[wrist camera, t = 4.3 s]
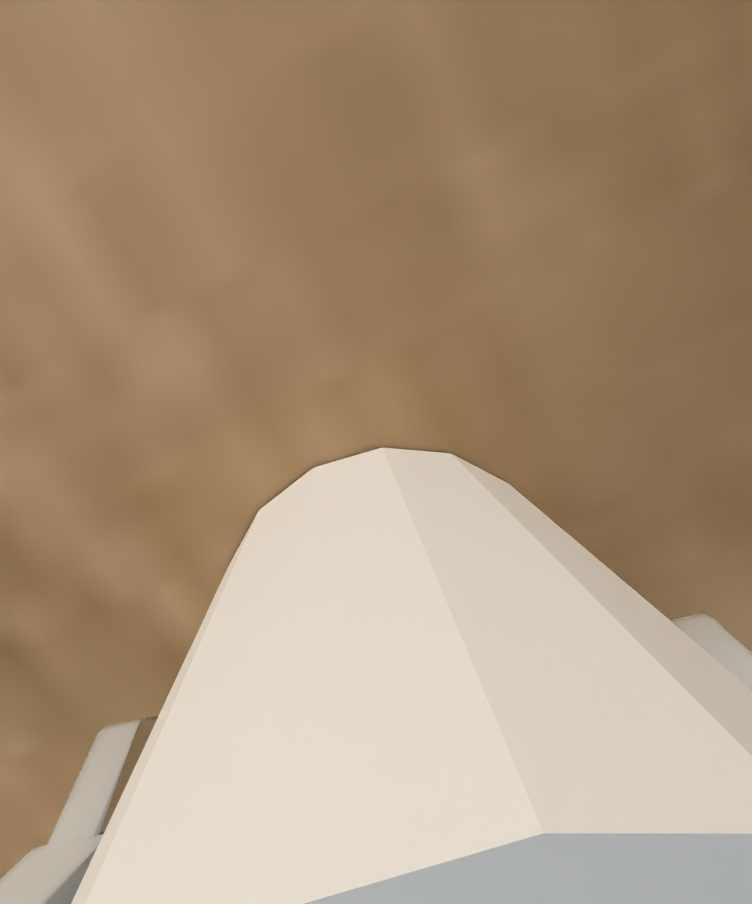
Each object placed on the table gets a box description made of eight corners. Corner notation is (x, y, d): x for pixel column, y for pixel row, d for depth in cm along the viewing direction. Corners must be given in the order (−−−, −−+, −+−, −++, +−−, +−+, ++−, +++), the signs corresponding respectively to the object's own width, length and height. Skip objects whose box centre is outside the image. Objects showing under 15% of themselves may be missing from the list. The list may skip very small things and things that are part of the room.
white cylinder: (146, 430, 9) (-375, 1002, 2) (599, 387, 9) (1324, 748, 3) (221, 783, 11) (80, 1584, 4) (580, 735, 11) (939, 1395, 5)
